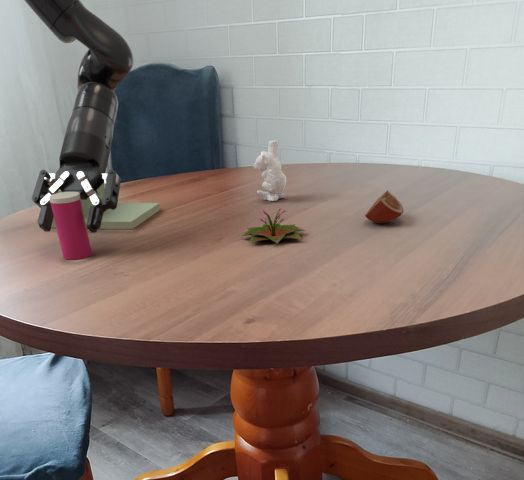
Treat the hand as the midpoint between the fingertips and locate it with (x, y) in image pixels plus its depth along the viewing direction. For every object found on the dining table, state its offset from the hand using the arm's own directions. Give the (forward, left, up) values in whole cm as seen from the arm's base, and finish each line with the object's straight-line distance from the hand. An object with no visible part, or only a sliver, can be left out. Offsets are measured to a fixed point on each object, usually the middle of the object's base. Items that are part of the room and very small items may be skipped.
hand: (67, 229), depth 87 cm
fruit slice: (+45, -31, -5) cm, 55 cm away
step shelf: (+17, +17, -5) cm, 24 cm away
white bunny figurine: (+47, -2, -5) cm, 47 cm away
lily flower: (+27, -20, -5) cm, 34 cm away
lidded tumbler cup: (+1, +1, -5) cm, 5 cm away
